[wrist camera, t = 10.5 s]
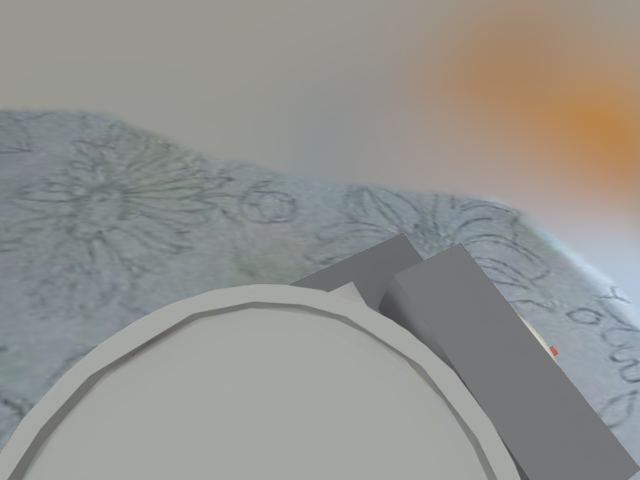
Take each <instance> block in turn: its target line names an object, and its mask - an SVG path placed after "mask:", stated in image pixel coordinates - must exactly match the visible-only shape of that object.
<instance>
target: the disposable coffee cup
mask: <svg viewBox="0 0 640 480" xmlns="http://www.w3.org/2000/svg"><path fill="white" fill-rule="evenodd" d="M0 480H521V479H520V476H519V474H518V471H517V469H516V467H515V464H514V462H513V460H512V458H511V457H510V455H509V453H508V451H507V449H506V448H505V446H504V444H503V442H502V440H501V438H500V437H499V435H498V433H497V431H496V429H495V428H494V426H493V424H492V422H491V421H490V419H489V418H488V417H487V415H486V414H485V412H484V411H483V410H482V408H481V407H480V406H479V404H478V403H477V402H476V400H475V399H474V398H473V396H472V395H471V394H470V392H469V391H468V390H467V388H466V387H465V386H464V384H463V383H462V381H461V380H460V379H459V377H458V376H457V375H456V373H455V372H454V371H453V370H452V369H451V368H450V367H449V366H448V365H446V364H445V363H444V362H443V361H442V360H441V359H440V358H438V357H437V356H436V355H435V354H434V353H433V352H432V351H431V350H430V349H429V348H428V347H427V346H426V345H424V344H423V343H422V342H420V341H419V340H418V339H417V338H416V337H415V336H413V335H412V334H411V333H410V332H409V331H408V330H406V329H405V328H403V327H401V326H400V325H398V324H397V323H395V322H394V321H393V320H391V319H389V318H387V317H385V316H383V315H381V314H379V313H378V312H376V311H374V310H372V309H371V308H369V307H367V306H365V305H362V304H359V303H356V302H354V301H352V300H350V299H346V298H342V297H339V296H337V295H334V294H331V293H328V292H325V291H323V290H316V289H309V288H303V287H296V286H289V285H270V284H254V285H247V286H240V287H232V288H225V289H218V290H212V291H209V292H206V293H203V294H199V295H196V296H193V297H190V298H187V299H184V300H181V301H178V302H175V303H172V304H169V305H167V306H165V307H163V308H161V309H159V310H157V311H155V312H152V313H150V314H148V315H146V316H144V317H142V318H140V319H138V320H137V321H135V322H133V323H132V324H130V325H129V326H127V327H126V328H124V329H122V330H121V331H119V332H118V333H116V334H114V335H113V336H111V337H110V338H108V339H107V340H105V341H103V342H102V343H101V344H99V345H98V346H97V347H96V348H95V349H93V350H92V351H91V352H90V353H89V354H88V355H86V356H85V357H84V358H83V359H82V360H80V361H79V362H78V363H77V364H76V365H74V366H73V367H72V368H71V369H70V370H68V371H67V372H66V373H65V374H64V375H63V376H62V377H61V378H60V379H59V380H58V382H57V383H56V384H55V385H54V386H53V387H52V388H51V389H50V390H49V391H48V392H47V393H46V394H45V395H44V397H43V398H42V399H41V400H40V401H39V402H38V403H37V404H36V405H35V406H34V407H33V408H32V409H31V411H30V412H29V413H28V414H27V415H26V416H25V417H24V418H23V419H22V421H21V422H20V424H19V425H18V427H17V428H16V430H15V431H14V433H13V434H12V436H11V437H10V439H9V440H8V442H7V443H6V445H5V446H4V448H3V449H2V451H1V452H0Z"/></svg>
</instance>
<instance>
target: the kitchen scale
mask: <svg viewBox="0 0 640 480" xmlns="http://www.w3.org/2000/svg"><path fill="white" fill-rule="evenodd" d="M350 282H353V283H354V285H355V287H356V288H357V290H358V292H359V293H360V295H361V297H362V298H363V300H364V302H365V303H366V305H367V307H369V308H371V309H372V310H374V311H376V312H378V313H379V314H381V315H383V316H385V317H387V318H389V319H391V320H393V321H394V322H395V323H397V324H398V325H400V326H401V327H403V328H405V329H406V330H408V331H409V332H410V333H411V334H412V335H413V336H415V337H416V338H417V339H418V340H419V341H420V342H422V343H423V344H424V345H426V346H427V347H428V348H429V349H430V350H431V351H432V352H433V353H434V354H435V355H436V356H437V357H438V358H440V359H441V360H442V361H443V362H444V363H445V364H446V365H448V366H449V367H450V368H451V369H452V370H453V371H454V372H455V373H456V375H457V376H458V377H459V379H460V380H461V381H462V383H463V384H464V386H465V387H466V388H467V390H468V391H469V392H470V394H471V395H472V396H473V398H474V399H475V400H476V402H477V403H478V404H479V406H480V407H481V408H482V410H483V411H484V412H485V414H486V415H487V417H488V418H489V419H490V421H491V422H492V424H493V426H494V428H495V429H496V431H497V433H498V435H499V437H500V438H501V440H502V442H503V444H504V446H505V448H506V449H507V451H508V453H509V455H510V457H511V458H512V460H513V462H514V464H515V467H516V469H517V471H518V474H519V476H520V479H521V480H628V479H629V478H630V477H632V476H633V475H634V474H635V473H637V472H638V471H639V470H640V467H639V466H638V465H637V464H636V462H635V461H634V460H633V459H632V457H631V456H630V455H629V454H628V452H627V451H626V450H625V449H624V447H623V446H622V445H621V444H620V442H619V441H618V440H617V439H616V437H615V436H614V435H613V434H612V432H611V431H610V430H609V429H608V427H607V426H606V425H605V424H604V422H603V421H602V420H601V419H600V417H599V416H598V415H597V414H596V412H595V411H594V410H593V409H592V407H591V406H590V405H589V404H588V402H587V401H586V400H585V399H584V397H583V396H582V395H581V394H580V392H579V391H578V390H577V389H576V387H575V386H574V385H573V384H572V382H571V381H570V380H569V378H568V377H567V376H566V375H565V373H564V372H563V371H562V370H561V368H560V367H559V365H558V363H557V360H556V359H555V357H554V356H556V355H557V354H558V353H557V351H556V350H555V349H554V348H553V346H552V347H550V348H549V347H548V345H547V344H546V343H545V341H544V340H543V339H542V337H541V336H540V335H539V334H538V333H537V331H536V330H535V329H534V328H533V327H532V326H531V325H530V324H529V323H528V322H527V321H526V320H524V319H523V318H522V317H521V316H520V315H518V314H517V313H516V312H515V311H514V310H513V308H512V307H511V306H510V305H509V303H508V302H507V301H506V300H505V298H504V297H503V296H502V295H501V293H500V292H499V291H498V289H497V288H496V287H495V286H494V284H493V283H492V282H491V281H490V279H489V278H488V277H487V276H486V274H485V273H484V272H483V271H482V269H481V268H480V267H479V266H478V264H477V263H476V262H475V261H474V259H473V258H472V257H471V256H470V254H469V253H468V252H467V251H466V249H465V248H464V247H463V246H462V244H461V243H459V244H457V245H455V246H453V247H451V248H449V249H447V250H445V251H443V252H441V253H439V254H437V255H435V256H432V257H430V258H428V259H426V260H424V261H423V259H422V258H421V257H420V255H419V254H418V252H417V251H416V250H415V248H414V247H413V246H412V244H411V243H410V241H409V240H408V239H407V237H406V236H405V235H404V233H402V234H400V235H398V236H396V237H393V238H391V239H389V240H387V241H385V242H382V243H380V244H378V245H376V246H374V247H371V248H369V249H367V250H365V251H363V252H360V253H358V254H356V255H354V256H352V257H349V258H347V259H345V260H343V261H341V262H338V263H336V264H334V265H332V266H330V267H327V268H325V269H323V270H321V271H319V272H316V273H314V274H312V275H310V276H308V277H305V278H303V279H301V280H299V281H297V282H294V283H292V284H290V285H289V286H296V287H303V288H309V289H316V290H323V291H325V292H328V293H329V292H331V291H333V290H335V289H337V288H339V287H341V286H343V285H346V284H348V283H350Z"/></svg>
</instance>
